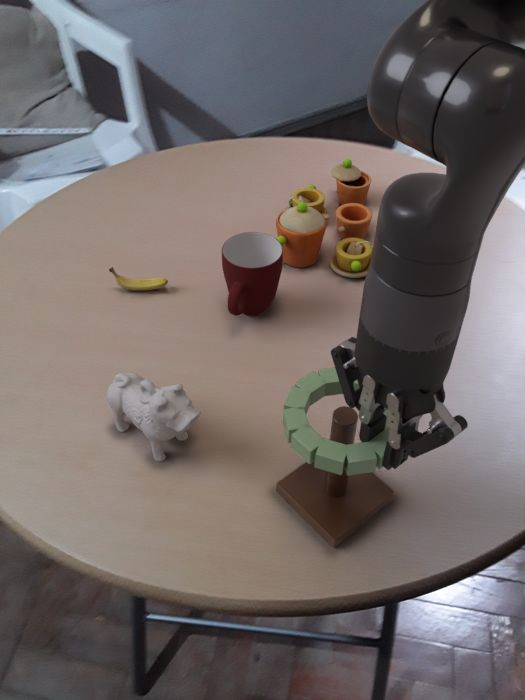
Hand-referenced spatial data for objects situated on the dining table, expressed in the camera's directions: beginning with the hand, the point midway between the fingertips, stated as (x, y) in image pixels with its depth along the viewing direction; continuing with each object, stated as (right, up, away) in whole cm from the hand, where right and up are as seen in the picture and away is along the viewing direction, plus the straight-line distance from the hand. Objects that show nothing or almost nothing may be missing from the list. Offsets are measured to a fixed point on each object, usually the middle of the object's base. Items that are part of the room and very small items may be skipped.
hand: (381, 453), depth 63 cm
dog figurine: (-23, -1, +17) cm, 29 cm away
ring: (-3, +2, +3) cm, 5 cm away
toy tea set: (0, +28, +47) cm, 55 cm away
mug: (-13, +15, +33) cm, 38 cm away
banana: (-29, +18, +36) cm, 50 cm away
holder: (-3, -6, +11) cm, 13 cm away
